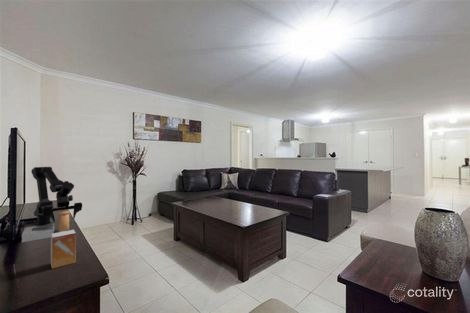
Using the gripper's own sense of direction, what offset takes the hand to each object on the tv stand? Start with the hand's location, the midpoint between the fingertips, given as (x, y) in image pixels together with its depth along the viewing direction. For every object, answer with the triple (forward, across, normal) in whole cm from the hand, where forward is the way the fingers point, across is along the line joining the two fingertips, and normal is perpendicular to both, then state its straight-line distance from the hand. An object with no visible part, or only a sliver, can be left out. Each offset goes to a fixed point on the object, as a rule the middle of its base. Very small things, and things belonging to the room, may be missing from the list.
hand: (64, 220), depth 130 cm
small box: (+38, -4, -26) cm, 46 cm away
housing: (+2, -11, +9) cm, 15 cm away
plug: (+5, 0, +7) cm, 8 cm away
